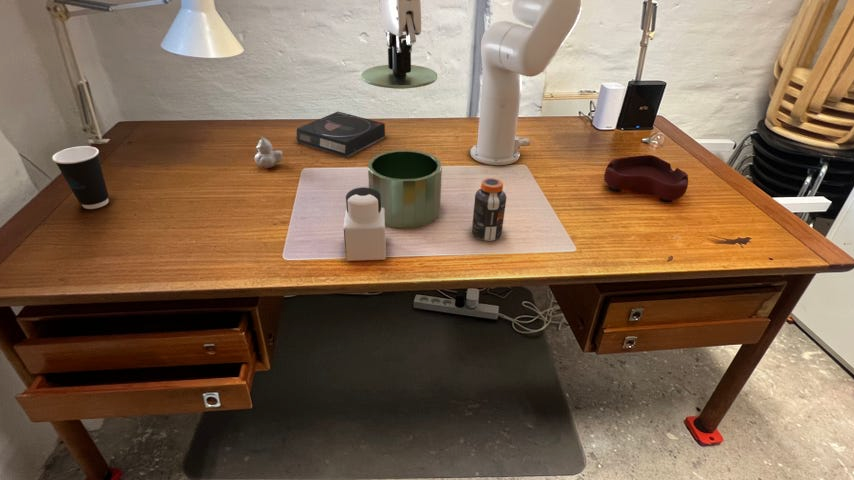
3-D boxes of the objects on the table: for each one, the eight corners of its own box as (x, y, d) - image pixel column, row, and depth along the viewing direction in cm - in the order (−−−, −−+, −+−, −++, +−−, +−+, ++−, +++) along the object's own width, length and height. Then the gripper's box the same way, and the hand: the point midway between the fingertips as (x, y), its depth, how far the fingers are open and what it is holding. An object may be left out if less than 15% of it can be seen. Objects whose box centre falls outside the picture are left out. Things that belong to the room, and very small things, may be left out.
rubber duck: (257, 162, 125) (251, 130, 120) (285, 161, 126) (280, 130, 121) (255, 171, 120) (248, 139, 116) (283, 170, 121) (278, 138, 117)
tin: (421, 189, 115) (422, 145, 109) (451, 219, 105) (454, 172, 99) (360, 202, 110) (357, 156, 104) (386, 234, 99) (384, 186, 93)
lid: (417, 66, 114) (417, 34, 110) (450, 86, 103) (452, 50, 99) (351, 74, 108) (348, 40, 104) (379, 95, 97) (377, 58, 93)
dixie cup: (117, 191, 111) (99, 143, 104) (116, 208, 105) (97, 158, 98) (75, 198, 108) (53, 149, 101) (72, 215, 102) (49, 164, 95)
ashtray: (685, 180, 123) (691, 161, 120) (681, 210, 111) (688, 189, 108) (609, 165, 129) (614, 147, 126) (598, 192, 116) (603, 172, 114)
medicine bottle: (348, 240, 97) (343, 183, 90) (385, 239, 98) (383, 182, 91) (346, 261, 92) (340, 202, 84) (385, 260, 92) (383, 202, 85)
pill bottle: (500, 243, 98) (506, 190, 91) (469, 239, 99) (474, 187, 92) (502, 228, 102) (509, 176, 96) (473, 224, 103) (478, 173, 97)
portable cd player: (297, 143, 135) (295, 129, 132) (339, 125, 147) (337, 111, 144) (345, 158, 128) (344, 143, 126) (385, 137, 140) (384, 123, 138)
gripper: (436, -29, 89) (434, 79, 100) (398, -39, 100) (399, 59, 111) (397, -28, 86) (399, 83, 97) (362, -38, 98) (367, 62, 109)
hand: (399, 69), depth 104 cm, fingers closed on lid, 2 cm apart
